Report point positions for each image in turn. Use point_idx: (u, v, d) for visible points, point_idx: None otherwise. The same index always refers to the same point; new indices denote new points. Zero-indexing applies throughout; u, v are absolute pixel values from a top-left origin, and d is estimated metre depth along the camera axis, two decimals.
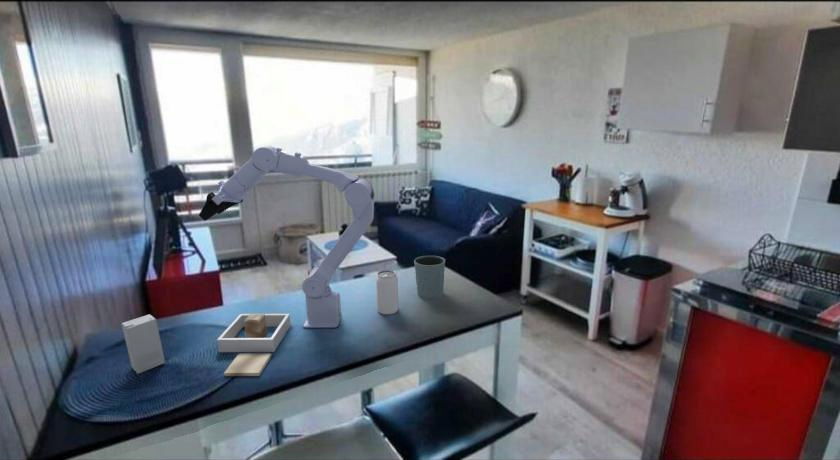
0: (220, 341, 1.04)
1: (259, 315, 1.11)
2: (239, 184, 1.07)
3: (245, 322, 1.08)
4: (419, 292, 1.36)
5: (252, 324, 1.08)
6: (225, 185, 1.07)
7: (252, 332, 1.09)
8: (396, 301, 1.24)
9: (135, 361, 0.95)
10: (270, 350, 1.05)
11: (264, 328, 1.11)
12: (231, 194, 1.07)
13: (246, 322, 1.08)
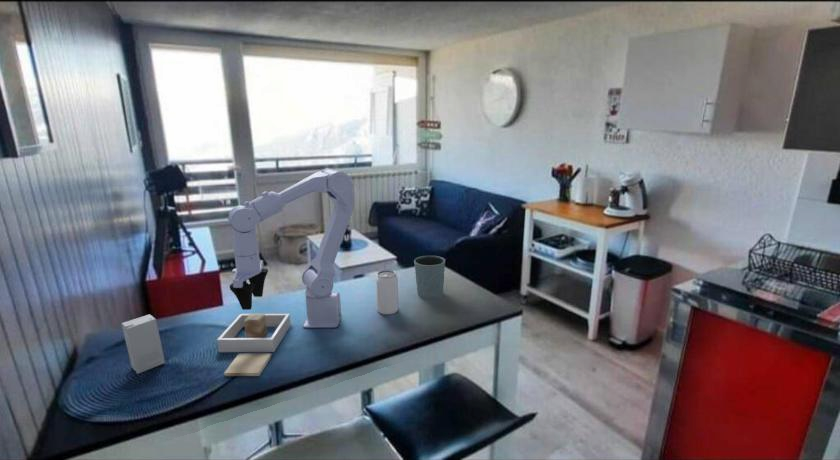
0: (220, 341, 1.04)
1: (259, 315, 1.11)
2: (243, 257, 1.02)
3: (245, 322, 1.08)
4: (419, 292, 1.36)
5: (252, 324, 1.08)
6: (237, 269, 1.04)
7: (252, 332, 1.09)
8: (396, 301, 1.24)
9: (135, 361, 0.95)
10: (270, 350, 1.05)
11: (264, 328, 1.11)
12: (247, 271, 1.03)
13: (246, 322, 1.08)
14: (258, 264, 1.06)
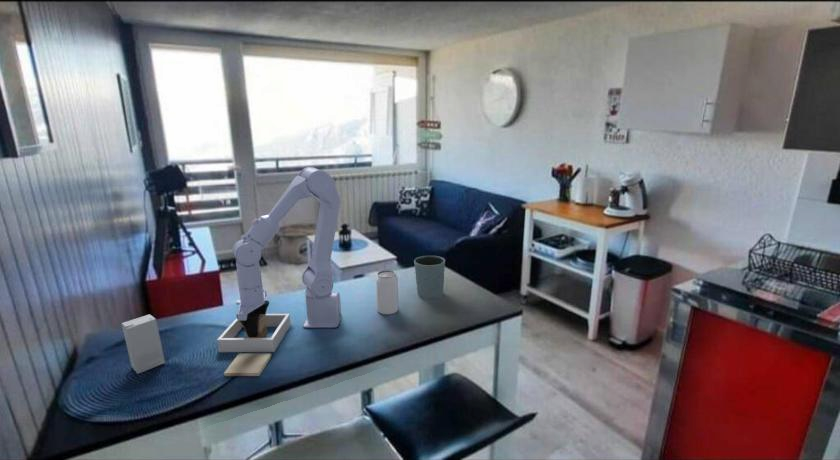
0: (220, 341, 1.04)
1: None
2: (247, 290, 1.05)
3: None
4: (419, 292, 1.36)
5: None
6: (241, 301, 1.06)
7: None
8: (396, 301, 1.24)
9: (135, 361, 0.95)
10: (270, 350, 1.05)
11: (264, 328, 1.11)
12: (250, 303, 1.06)
13: None
14: (262, 296, 1.08)
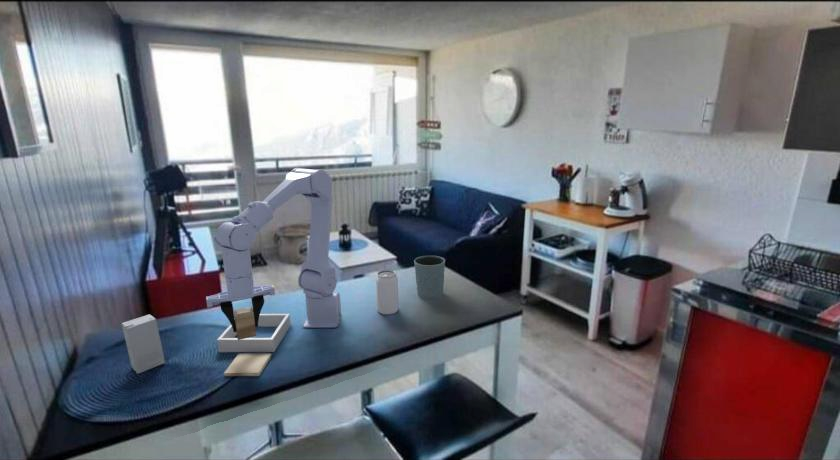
0: (220, 341, 1.04)
1: (247, 311, 0.97)
2: None
3: None
4: (419, 292, 1.36)
5: None
6: None
7: None
8: (396, 301, 1.24)
9: (135, 361, 0.95)
10: (270, 350, 1.05)
11: (249, 327, 0.97)
12: (228, 293, 0.94)
13: None
14: (240, 290, 0.93)
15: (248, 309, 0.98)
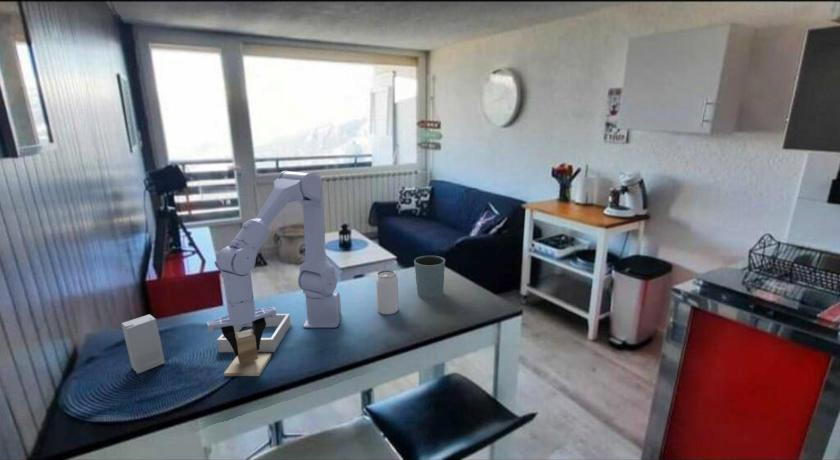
0: (220, 341, 1.04)
1: (249, 334, 0.97)
2: (227, 302, 0.93)
3: None
4: (419, 292, 1.36)
5: None
6: None
7: None
8: (396, 301, 1.24)
9: (135, 361, 0.95)
10: (270, 350, 1.05)
11: (251, 351, 0.97)
12: (229, 317, 0.93)
13: None
14: (242, 314, 0.93)
15: (249, 332, 0.97)
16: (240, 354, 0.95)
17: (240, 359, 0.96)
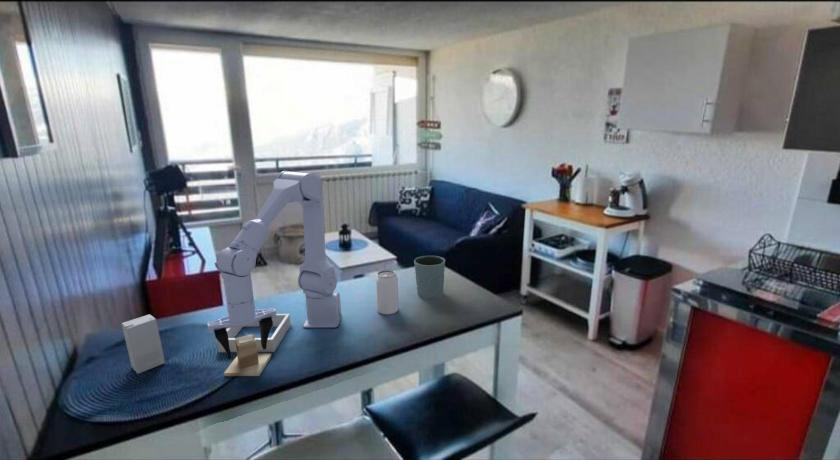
0: None
1: (250, 339, 0.97)
2: (227, 303, 0.93)
3: (235, 340, 0.98)
4: (419, 292, 1.36)
5: (236, 346, 0.97)
6: None
7: (237, 354, 0.97)
8: (396, 301, 1.24)
9: (135, 361, 0.95)
10: (270, 350, 1.05)
11: (252, 356, 0.97)
12: (229, 318, 0.93)
13: (235, 340, 0.98)
14: (242, 315, 0.93)
15: (250, 337, 0.98)
16: (241, 359, 0.96)
17: (241, 364, 0.96)
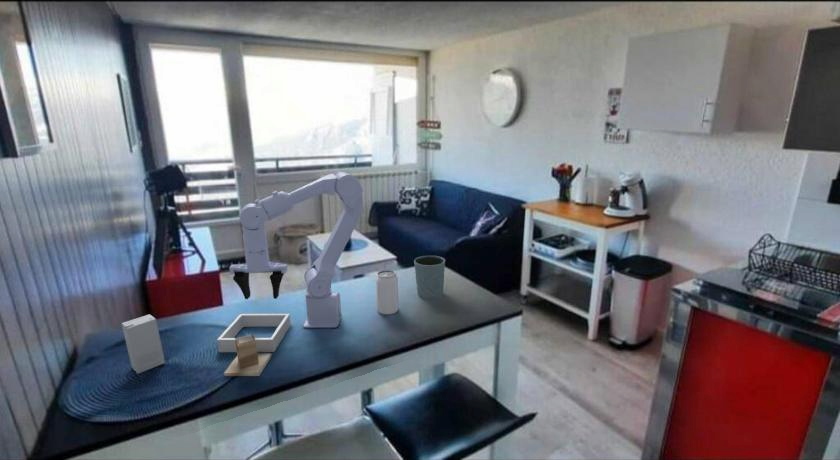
0: (220, 341, 1.04)
1: (250, 339, 0.97)
2: None
3: (235, 340, 0.98)
4: (419, 292, 1.36)
5: (236, 346, 0.97)
6: None
7: (237, 354, 0.97)
8: (396, 301, 1.24)
9: (135, 361, 0.95)
10: (270, 350, 1.05)
11: (252, 356, 0.97)
12: (246, 264, 1.09)
13: (235, 340, 0.98)
14: (252, 263, 1.07)
15: (250, 337, 0.98)
16: (241, 359, 0.96)
17: (241, 364, 0.96)
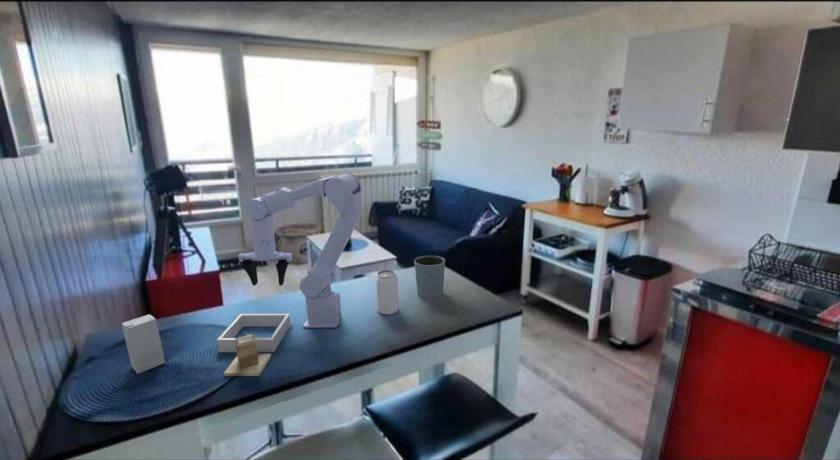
0: (220, 341, 1.04)
1: (250, 339, 0.97)
2: None
3: (235, 340, 0.98)
4: (419, 292, 1.36)
5: (236, 346, 0.97)
6: None
7: (237, 354, 0.97)
8: (396, 301, 1.24)
9: (135, 361, 0.95)
10: (270, 350, 1.05)
11: (252, 356, 0.97)
12: None
13: (235, 340, 0.98)
14: (259, 252, 1.15)
15: (250, 337, 0.98)
16: (241, 359, 0.96)
17: (241, 364, 0.96)
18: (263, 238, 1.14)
